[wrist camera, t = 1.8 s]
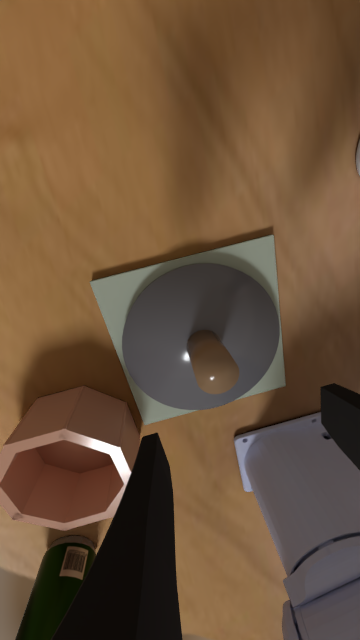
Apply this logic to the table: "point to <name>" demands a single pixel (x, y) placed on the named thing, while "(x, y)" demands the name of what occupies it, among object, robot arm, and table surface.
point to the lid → (200, 336)
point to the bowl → (68, 459)
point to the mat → (126, 287)
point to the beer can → (56, 586)
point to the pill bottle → (358, 158)
